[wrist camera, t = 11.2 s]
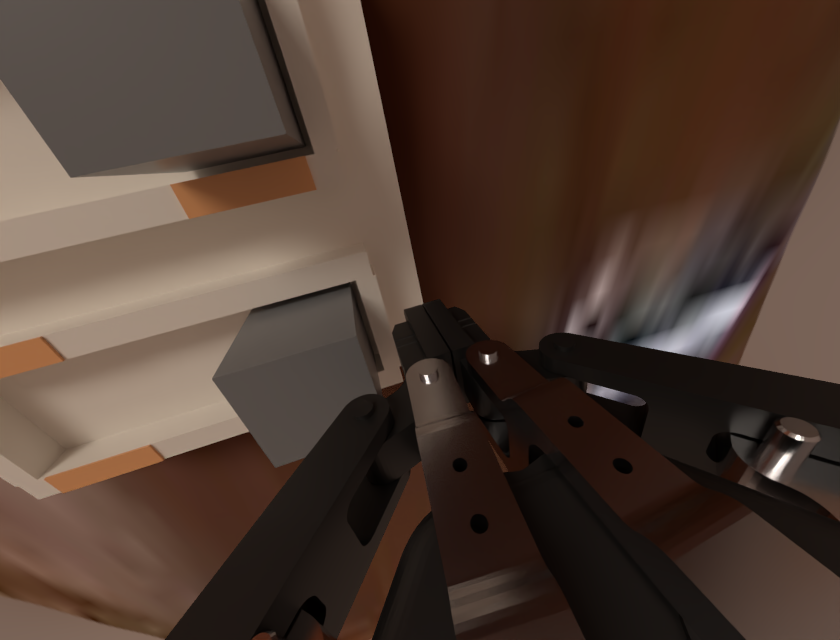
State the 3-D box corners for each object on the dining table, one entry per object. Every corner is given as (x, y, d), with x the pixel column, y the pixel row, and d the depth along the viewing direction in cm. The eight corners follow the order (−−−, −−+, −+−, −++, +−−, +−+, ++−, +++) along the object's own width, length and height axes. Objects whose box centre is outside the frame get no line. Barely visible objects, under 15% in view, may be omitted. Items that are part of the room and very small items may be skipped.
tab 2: (254, 304, 12) (211, 378, 8) (348, 278, 13) (356, 336, 9) (293, 376, 14) (275, 467, 10) (373, 352, 15) (389, 428, 10)
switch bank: (-460, 42, 7) (-1037, -45, 4) (338, -57, 10) (339, -159, 7) (57, 449, 15) (-14, 522, 12) (424, 337, 18) (443, 373, 15)
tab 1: (98, 6, 8) (-189, -186, 4) (252, -15, 8) (166, -207, 4) (186, 172, 10) (70, 177, 6) (306, 146, 10) (286, 133, 6)
